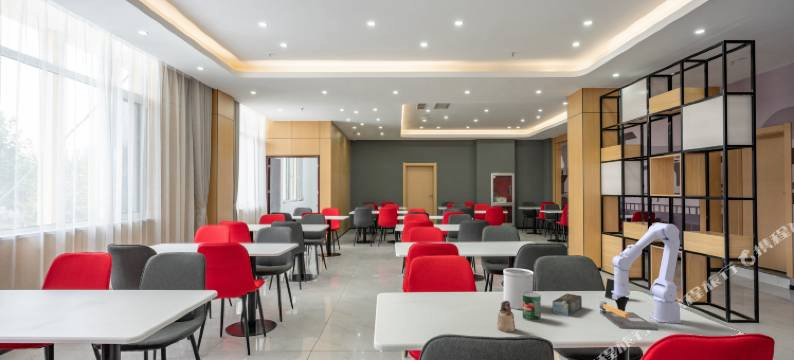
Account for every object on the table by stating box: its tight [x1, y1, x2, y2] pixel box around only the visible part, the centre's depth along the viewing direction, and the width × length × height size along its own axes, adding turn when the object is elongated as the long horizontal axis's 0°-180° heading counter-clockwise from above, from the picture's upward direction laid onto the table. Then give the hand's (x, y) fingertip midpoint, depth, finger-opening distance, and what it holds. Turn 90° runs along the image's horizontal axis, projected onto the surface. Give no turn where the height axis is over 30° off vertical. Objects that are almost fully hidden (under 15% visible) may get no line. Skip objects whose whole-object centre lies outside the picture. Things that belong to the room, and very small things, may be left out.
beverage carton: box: [551, 293, 583, 317], centre depth 198 cm, size 8×19×7 cm, turn 137°
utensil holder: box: [502, 267, 535, 310], centre depth 204 cm, size 15×15×18 cm
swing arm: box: [599, 301, 629, 318], centre depth 185 cm, size 18×3×3 cm, turn 9°
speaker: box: [604, 278, 614, 300], centre depth 220 cm, size 8×6×10 cm
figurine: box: [496, 300, 516, 333], centre depth 169 cm, size 7×7×12 cm
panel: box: [599, 307, 658, 331], centre depth 183 cm, size 15×21×2 cm
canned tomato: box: [522, 292, 542, 322], centre depth 184 cm, size 8×8×11 cm
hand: (621, 312), depth 183 cm, fingers closed, pressing on swing arm
